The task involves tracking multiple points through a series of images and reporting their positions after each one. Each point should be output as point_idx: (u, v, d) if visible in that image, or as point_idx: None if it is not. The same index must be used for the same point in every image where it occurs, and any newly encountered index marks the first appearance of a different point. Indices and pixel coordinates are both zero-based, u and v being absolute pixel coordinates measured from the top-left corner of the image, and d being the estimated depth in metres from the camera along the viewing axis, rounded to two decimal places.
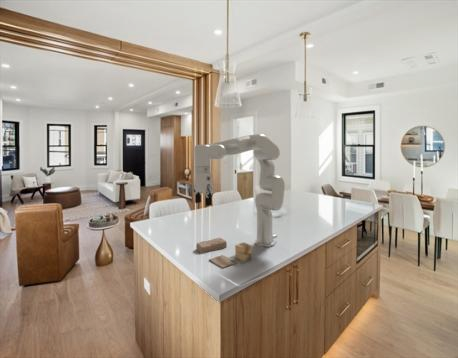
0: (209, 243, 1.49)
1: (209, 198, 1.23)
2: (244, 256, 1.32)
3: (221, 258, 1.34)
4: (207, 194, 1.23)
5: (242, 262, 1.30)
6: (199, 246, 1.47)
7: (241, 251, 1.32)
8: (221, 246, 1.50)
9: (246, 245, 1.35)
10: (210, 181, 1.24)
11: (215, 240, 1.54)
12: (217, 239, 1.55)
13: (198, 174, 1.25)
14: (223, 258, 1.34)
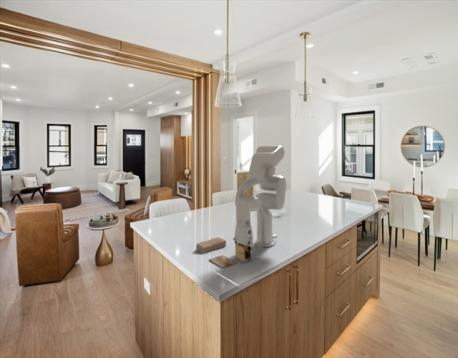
0: (209, 243, 1.49)
1: (248, 251, 1.32)
2: (244, 256, 1.32)
3: (221, 258, 1.34)
4: (247, 248, 1.32)
5: (242, 262, 1.30)
6: (200, 246, 1.46)
7: (241, 251, 1.32)
8: (221, 246, 1.51)
9: None
10: (251, 234, 1.32)
11: (214, 240, 1.54)
12: (216, 239, 1.56)
13: (239, 227, 1.33)
14: (223, 258, 1.34)
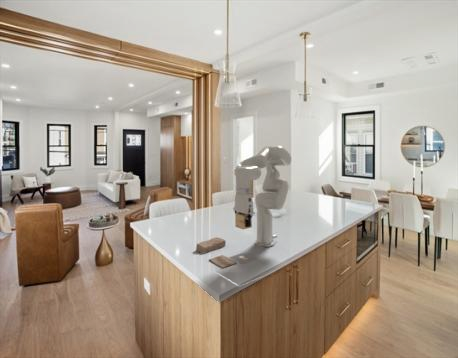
0: (209, 243, 1.49)
1: (249, 219, 1.31)
2: (244, 224, 1.31)
3: (221, 258, 1.34)
4: (247, 216, 1.30)
5: (242, 262, 1.30)
6: (200, 247, 1.46)
7: (241, 219, 1.31)
8: (221, 245, 1.51)
9: None
10: (251, 202, 1.30)
11: (214, 240, 1.54)
12: (215, 239, 1.56)
13: (239, 195, 1.31)
14: (223, 258, 1.34)
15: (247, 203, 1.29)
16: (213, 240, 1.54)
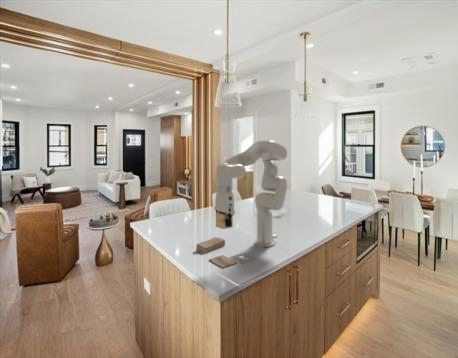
0: (209, 243, 1.49)
1: (229, 219, 1.26)
2: (224, 224, 1.26)
3: (221, 258, 1.34)
4: (227, 215, 1.25)
5: (242, 262, 1.30)
6: (201, 247, 1.45)
7: (222, 218, 1.26)
8: (220, 245, 1.52)
9: None
10: (232, 201, 1.25)
11: (213, 240, 1.55)
12: (214, 238, 1.56)
13: (220, 194, 1.27)
14: (223, 258, 1.34)
15: (227, 202, 1.24)
16: (213, 240, 1.54)
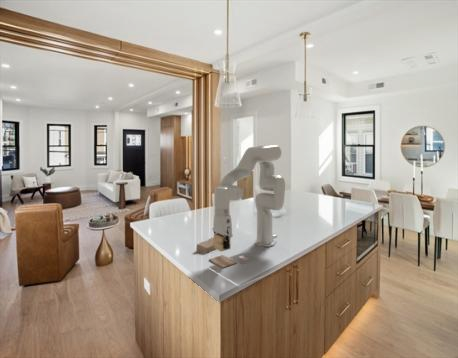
0: (209, 243, 1.49)
1: (227, 241, 1.26)
2: (222, 246, 1.27)
3: (221, 258, 1.34)
4: (225, 238, 1.26)
5: (242, 262, 1.30)
6: (201, 247, 1.45)
7: (219, 241, 1.26)
8: None
9: None
10: (230, 223, 1.26)
11: (212, 239, 1.55)
12: (213, 238, 1.56)
13: (218, 216, 1.27)
14: (223, 258, 1.34)
15: (225, 224, 1.25)
16: (212, 240, 1.54)
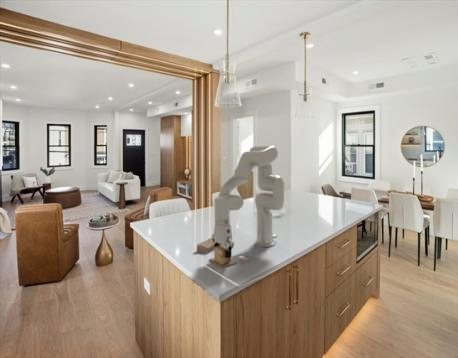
0: (209, 243, 1.49)
1: (229, 250, 1.26)
2: (223, 259, 1.28)
3: None
4: (227, 247, 1.26)
5: (242, 262, 1.30)
6: (202, 247, 1.45)
7: (220, 254, 1.27)
8: (220, 244, 1.53)
9: (225, 247, 1.30)
10: (230, 233, 1.27)
11: (212, 239, 1.55)
12: None
13: (218, 226, 1.28)
14: None
15: (225, 235, 1.25)
16: (211, 240, 1.54)
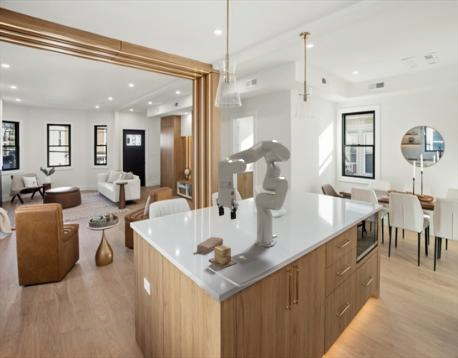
0: (209, 243, 1.50)
1: (234, 212, 1.28)
2: (223, 259, 1.28)
3: None
4: None
5: (242, 262, 1.30)
6: (203, 247, 1.44)
7: (220, 254, 1.27)
8: (219, 244, 1.53)
9: (225, 247, 1.30)
10: (234, 196, 1.29)
11: (211, 239, 1.55)
12: (212, 238, 1.57)
13: (222, 189, 1.30)
14: None
15: (230, 197, 1.28)
16: (211, 240, 1.54)
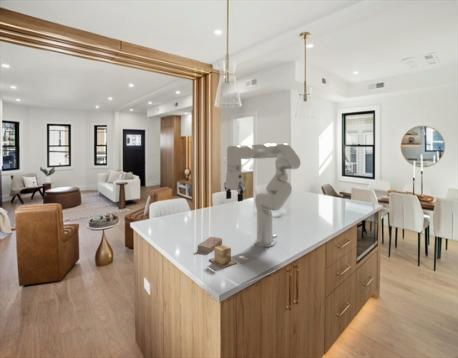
0: (209, 243, 1.50)
1: (241, 194, 1.36)
2: (223, 259, 1.28)
3: None
4: None
5: (242, 262, 1.30)
6: (203, 247, 1.44)
7: (220, 254, 1.27)
8: (219, 244, 1.54)
9: (225, 247, 1.30)
10: (241, 179, 1.37)
11: (210, 239, 1.55)
12: (211, 238, 1.57)
13: (230, 172, 1.38)
14: None
15: (237, 179, 1.35)
16: (210, 240, 1.54)
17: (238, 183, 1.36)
